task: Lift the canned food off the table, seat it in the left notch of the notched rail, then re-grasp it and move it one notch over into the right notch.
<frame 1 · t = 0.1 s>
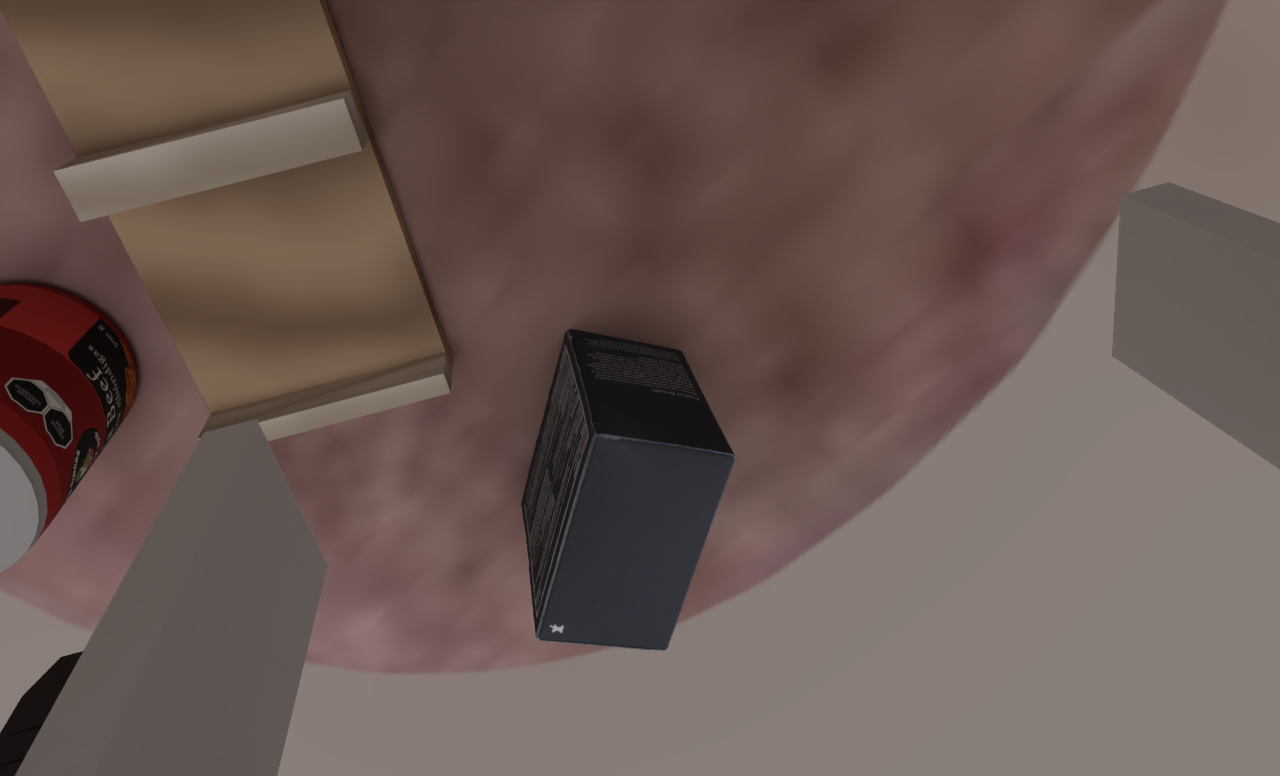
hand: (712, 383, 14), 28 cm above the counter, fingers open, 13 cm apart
canned food: (48, 357, 40), on the counter
small box: (601, 428, 46), on the counter
notched rail: (233, 141, 37), on the counter
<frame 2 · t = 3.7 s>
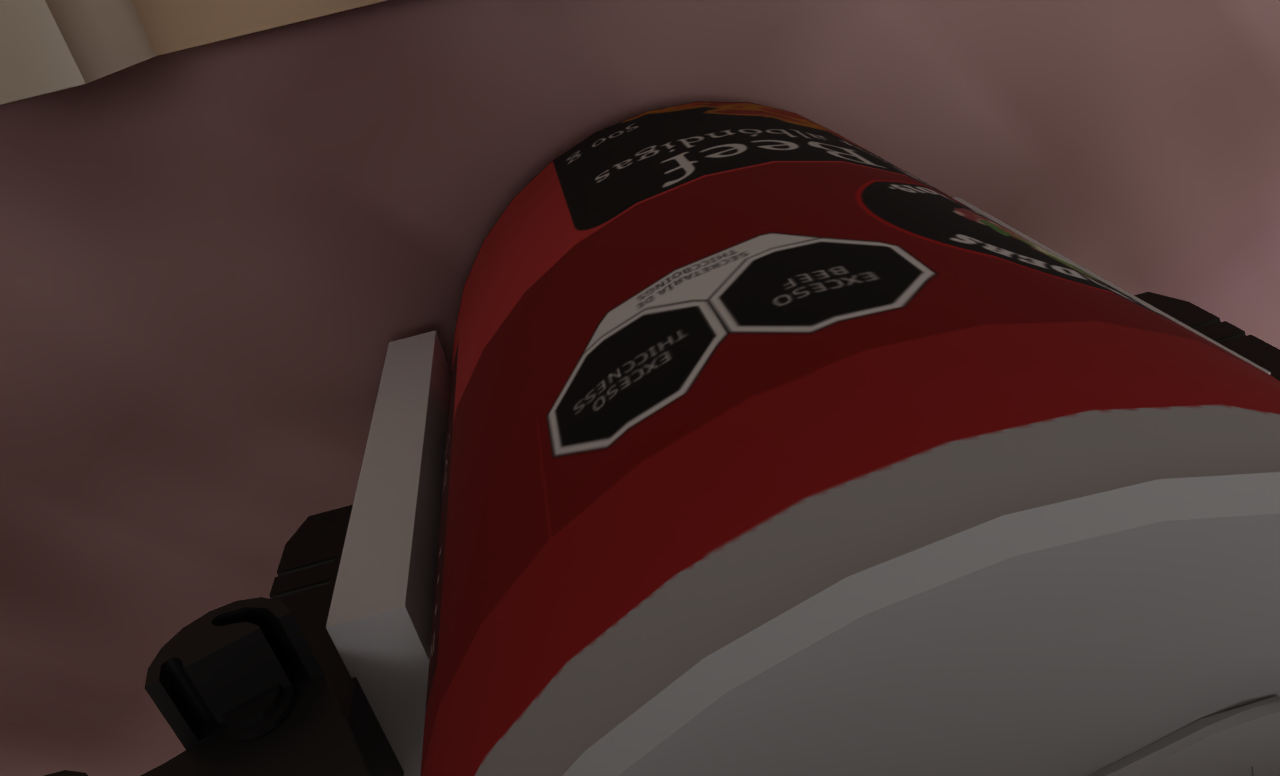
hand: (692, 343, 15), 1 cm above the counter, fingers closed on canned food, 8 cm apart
canned food: (680, 320, 16), on the counter, touching gripper
when the fingers open (3 cm above the counter, at t = 8.5 s): canned food drops 1 cm, resting on notched rail.
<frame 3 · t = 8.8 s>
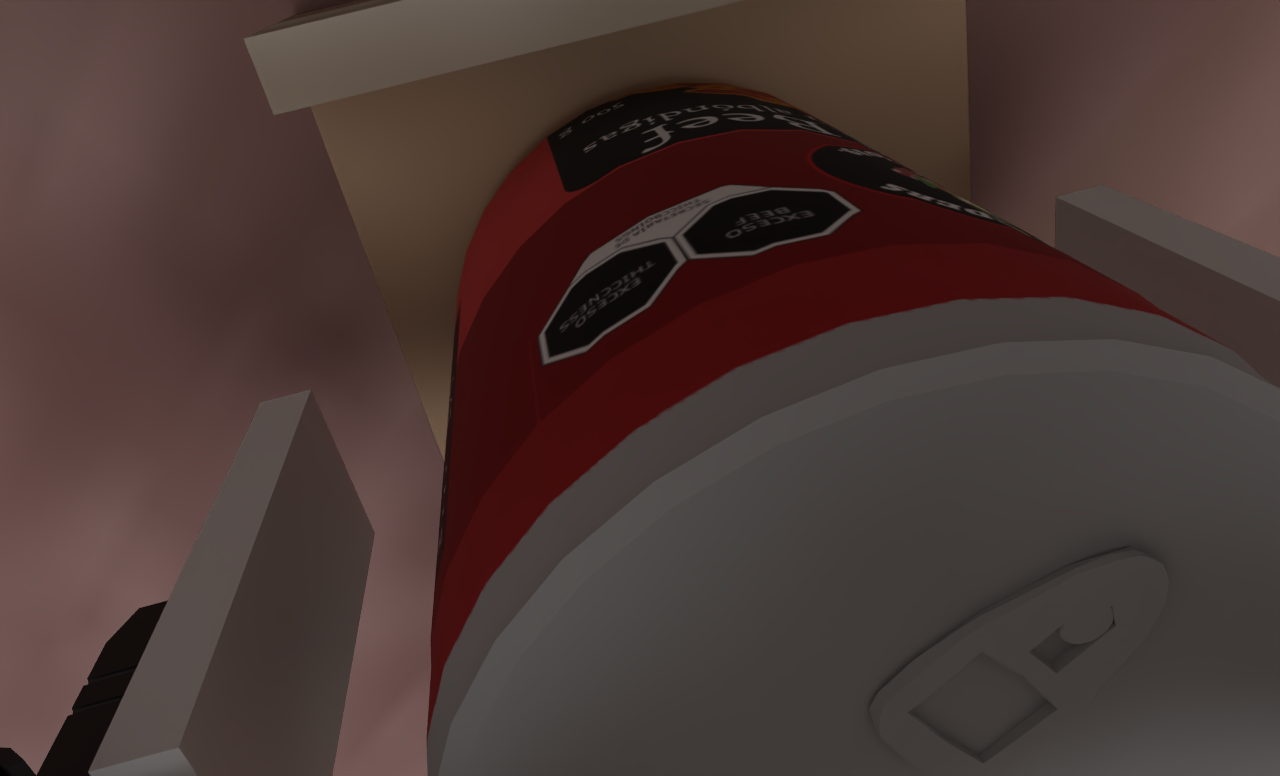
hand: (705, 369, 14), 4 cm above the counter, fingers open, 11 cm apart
canned food: (666, 288, 17), point 1 cm above the counter, touching notched rail
notched rail: (727, 506, 21), on the counter
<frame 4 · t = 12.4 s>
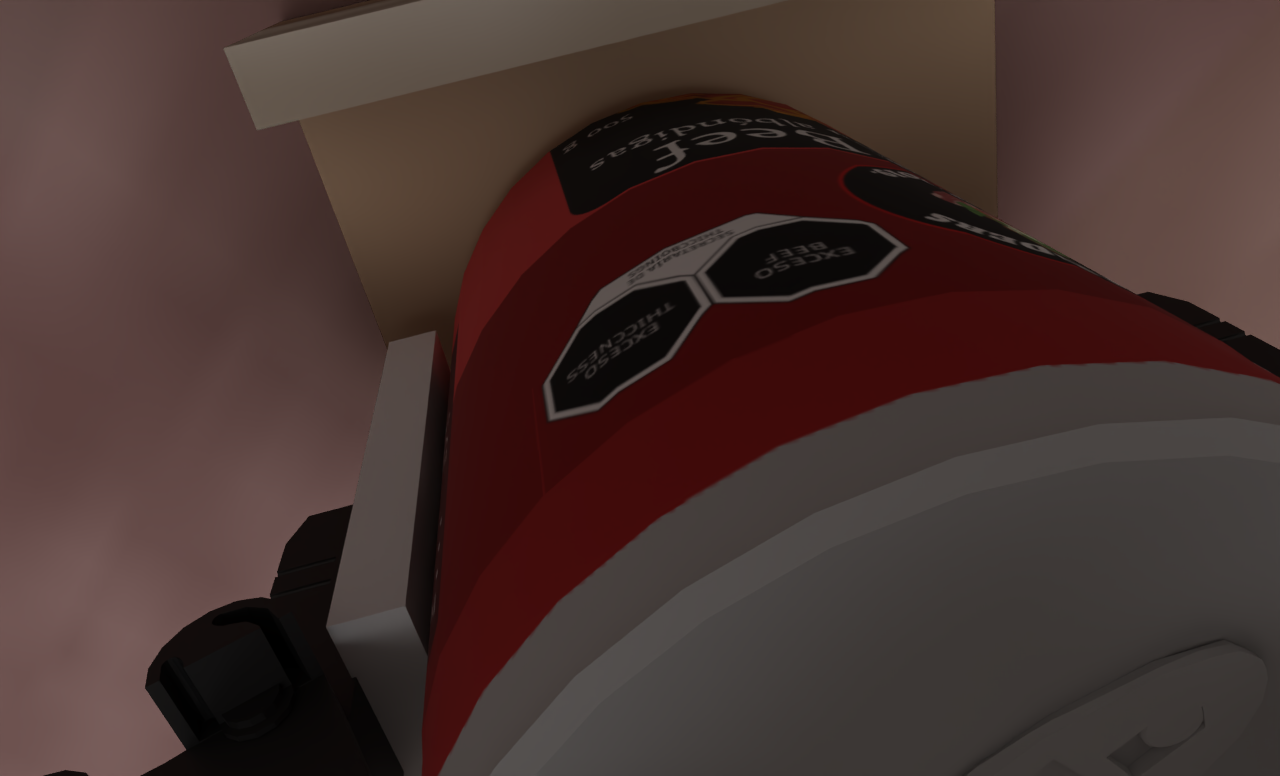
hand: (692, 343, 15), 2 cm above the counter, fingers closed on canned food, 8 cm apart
canned food: (675, 308, 16), point 1 cm above the counter, touching gripper, notched rail
notched rail: (738, 532, 20), on the counter
when the fingers open (4 cm above the counter, at t = 17.1 s): canned food drops 1 cm, resting on notched rail.
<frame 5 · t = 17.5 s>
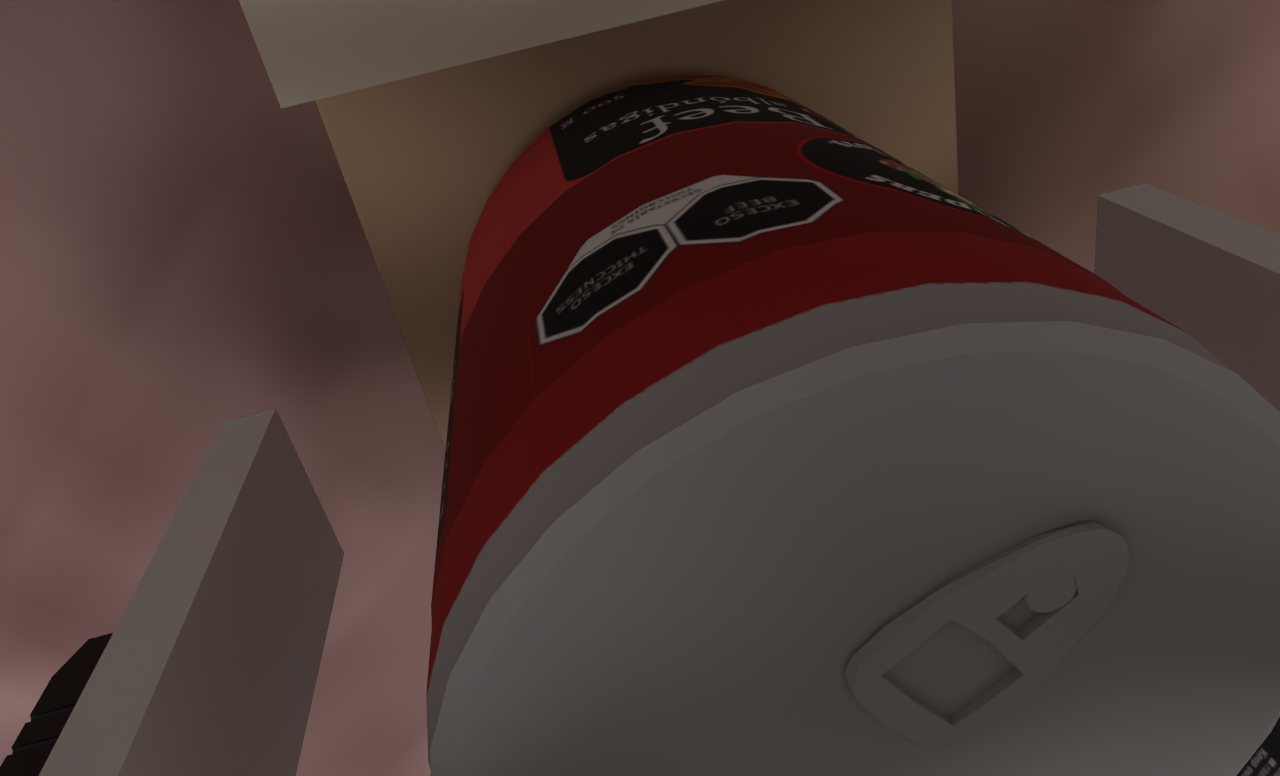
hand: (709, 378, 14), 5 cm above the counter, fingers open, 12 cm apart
canned food: (665, 277, 17), point 1 cm above the counter, touching notched rail
small box: (1155, 554, 25), on the counter
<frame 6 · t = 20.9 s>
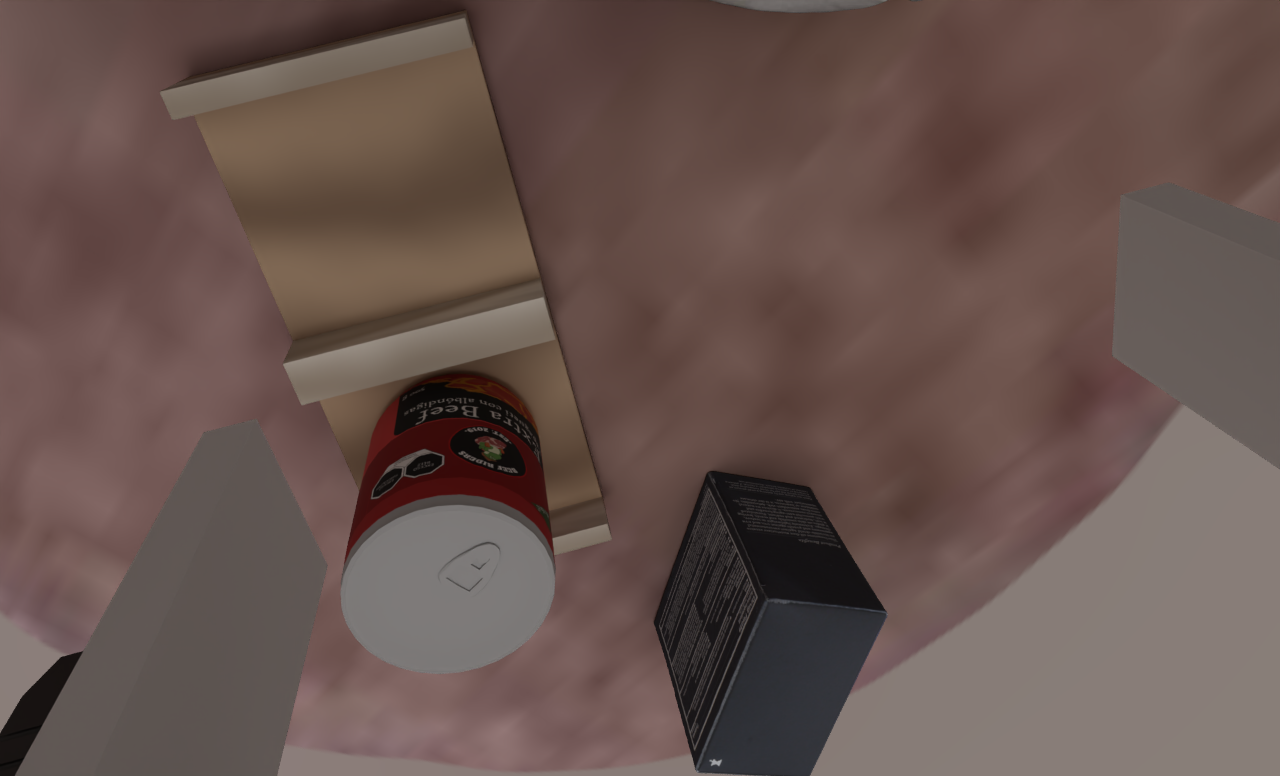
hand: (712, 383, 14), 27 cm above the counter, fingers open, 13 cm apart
canned food: (456, 440, 42), point 1 cm above the counter, touching notched rail
small box: (731, 554, 50), on the counter
notched rail: (426, 319, 40), on the counter
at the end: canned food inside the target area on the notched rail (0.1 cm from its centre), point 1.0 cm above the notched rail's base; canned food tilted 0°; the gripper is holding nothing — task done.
